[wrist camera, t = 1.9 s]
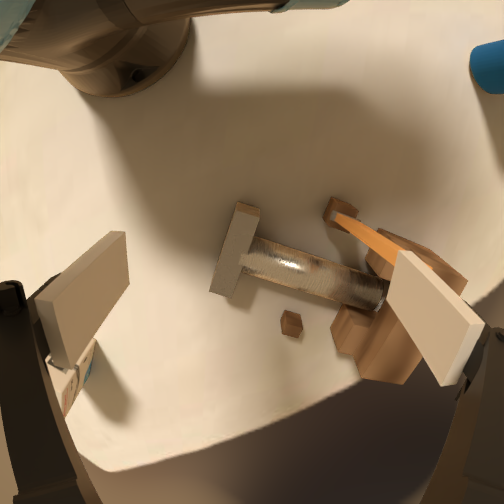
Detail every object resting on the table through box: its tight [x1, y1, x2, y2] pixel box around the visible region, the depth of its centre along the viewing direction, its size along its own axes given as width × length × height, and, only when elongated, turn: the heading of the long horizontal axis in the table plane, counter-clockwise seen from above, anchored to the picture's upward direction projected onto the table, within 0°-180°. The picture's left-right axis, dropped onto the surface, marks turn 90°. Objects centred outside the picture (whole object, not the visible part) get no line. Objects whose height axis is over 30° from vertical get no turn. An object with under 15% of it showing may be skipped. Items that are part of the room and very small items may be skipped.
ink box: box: [45, 338, 96, 419], centre depth 35 cm, size 9×5×15 cm, turn 155°
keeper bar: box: [330, 210, 433, 270], centre depth 24 cm, size 3×15×1 cm
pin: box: [209, 202, 383, 311], centre depth 34 cm, size 18×9×4 cm, turn 71°
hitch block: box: [280, 197, 468, 385], centre depth 33 cm, size 15×16×9 cm
